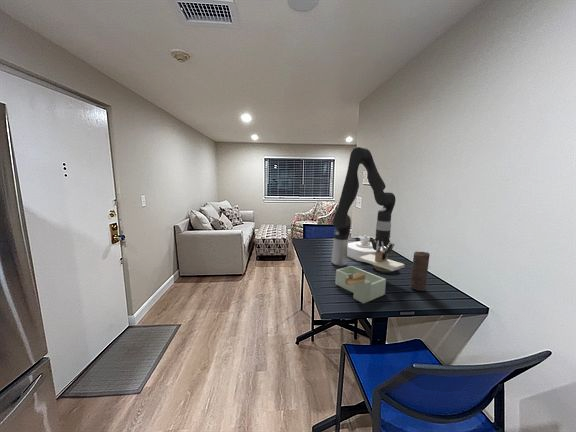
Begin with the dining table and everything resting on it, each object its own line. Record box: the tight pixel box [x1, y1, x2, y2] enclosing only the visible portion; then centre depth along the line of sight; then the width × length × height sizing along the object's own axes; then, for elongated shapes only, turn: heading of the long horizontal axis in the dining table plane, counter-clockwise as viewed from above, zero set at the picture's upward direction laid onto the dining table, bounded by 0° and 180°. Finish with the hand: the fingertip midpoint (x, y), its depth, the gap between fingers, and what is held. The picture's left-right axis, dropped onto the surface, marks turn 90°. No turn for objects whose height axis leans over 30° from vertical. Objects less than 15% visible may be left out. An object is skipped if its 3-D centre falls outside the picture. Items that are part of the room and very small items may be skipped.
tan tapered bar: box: [345, 273, 365, 286], centre depth 115 cm, size 3×10×4 cm, turn 126°
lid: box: [359, 251, 406, 272], centre depth 142 cm, size 22×11×6 cm, turn 36°
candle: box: [409, 251, 431, 291], centre depth 131 cm, size 8×7×20 cm
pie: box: [372, 264, 394, 273], centre depth 160 cm, size 16×16×5 cm
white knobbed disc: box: [347, 234, 383, 263], centre depth 185 cm, size 25×25×16 cm
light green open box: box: [334, 265, 387, 305], centre depth 129 cm, size 22×16×10 cm
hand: (381, 258), depth 142 cm, fingers closed on lid, 3 cm apart
